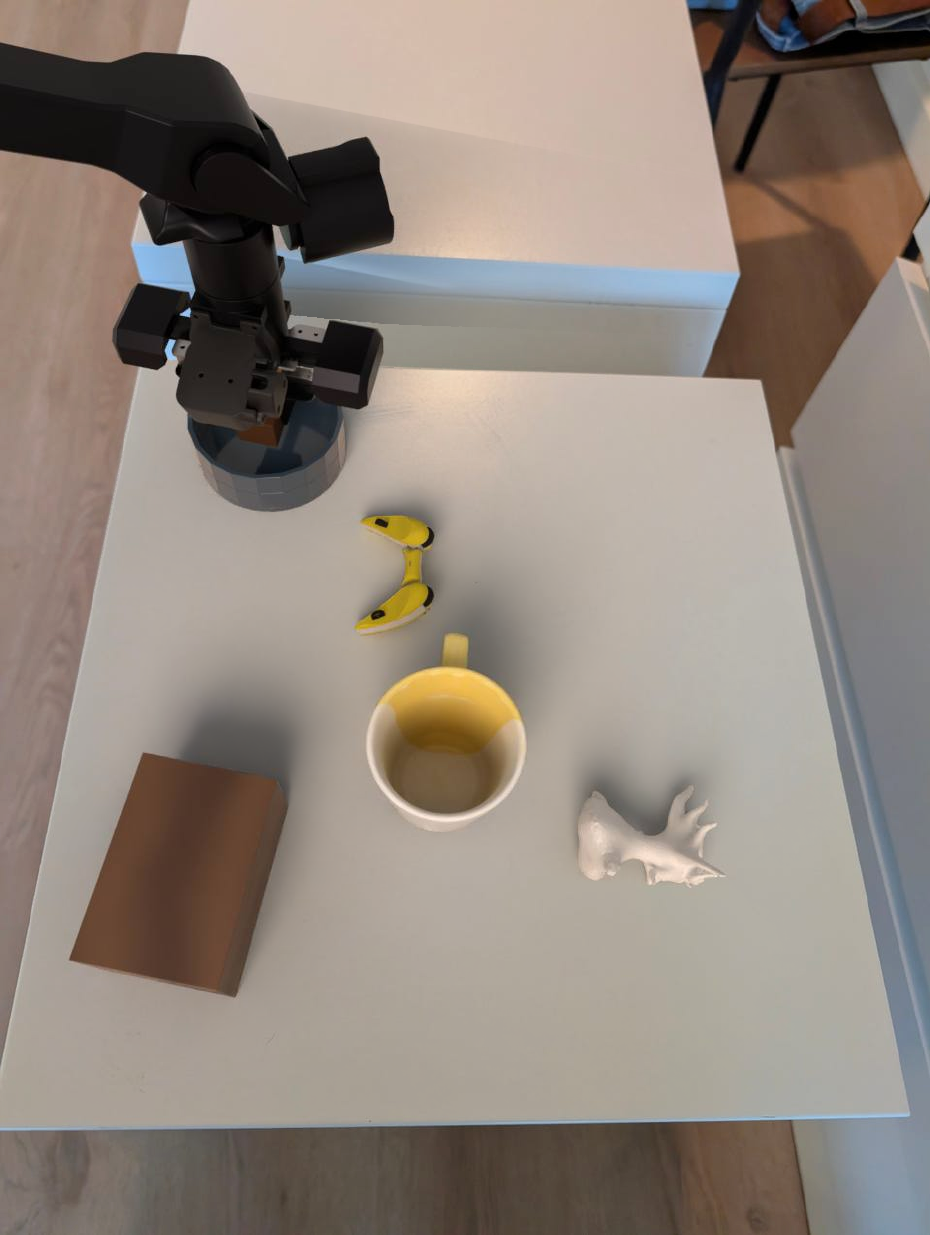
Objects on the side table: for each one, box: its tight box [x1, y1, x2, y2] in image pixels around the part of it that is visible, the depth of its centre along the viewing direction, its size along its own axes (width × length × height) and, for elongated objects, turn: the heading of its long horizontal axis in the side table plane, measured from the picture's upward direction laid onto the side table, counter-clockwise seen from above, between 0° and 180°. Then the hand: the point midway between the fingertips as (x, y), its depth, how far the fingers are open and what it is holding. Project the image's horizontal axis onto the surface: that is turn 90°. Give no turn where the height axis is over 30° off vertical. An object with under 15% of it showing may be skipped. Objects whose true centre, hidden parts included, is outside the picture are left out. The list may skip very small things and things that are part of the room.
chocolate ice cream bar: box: [237, 369, 284, 447], centre depth 74 cm, size 3×9×3 cm, turn 169°
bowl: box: [186, 396, 347, 513], centre depth 76 cm, size 12×12×5 cm
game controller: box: [354, 515, 436, 636], centre depth 73 cm, size 10×6×4 cm, turn 0°
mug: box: [365, 632, 528, 833], centre depth 63 cm, size 14×10×10 cm
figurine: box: [577, 784, 726, 889], centre depth 64 cm, size 10×8×10 cm
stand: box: [68, 752, 289, 998], centre depth 60 cm, size 9×13×7 cm
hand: (265, 416), depth 74 cm, fingers closed on chocolate ice cream bar, 3 cm apart
